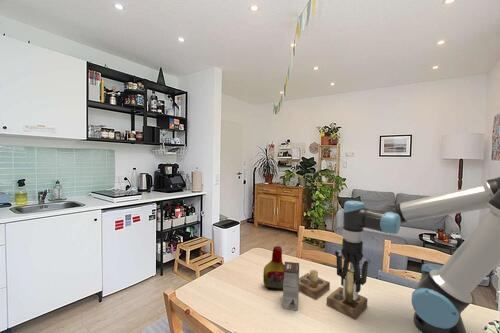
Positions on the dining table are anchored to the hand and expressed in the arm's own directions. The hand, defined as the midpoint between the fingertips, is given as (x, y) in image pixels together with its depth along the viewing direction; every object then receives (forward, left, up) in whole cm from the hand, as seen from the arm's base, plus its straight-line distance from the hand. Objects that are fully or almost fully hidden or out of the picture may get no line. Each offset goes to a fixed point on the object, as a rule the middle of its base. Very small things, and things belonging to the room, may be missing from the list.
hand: (350, 296), depth 97 cm
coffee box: (+19, +14, -6) cm, 25 cm away
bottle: (+31, +9, -6) cm, 33 cm away
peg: (0, 0, -2) cm, 2 cm away
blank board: (+2, -3, -6) cm, 7 cm away
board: (+19, -3, -6) cm, 20 cm away
